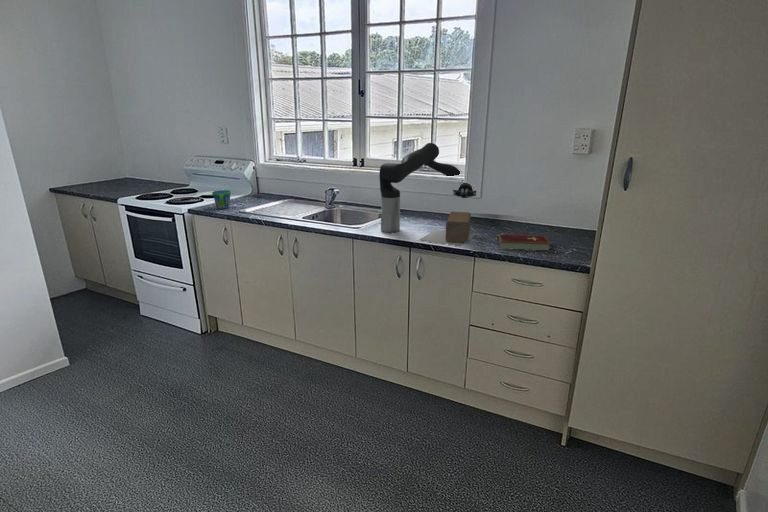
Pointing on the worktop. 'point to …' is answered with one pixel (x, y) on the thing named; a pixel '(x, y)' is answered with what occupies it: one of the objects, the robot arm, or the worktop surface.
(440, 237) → the grey mat
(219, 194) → the snack cup
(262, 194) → the worktop surface
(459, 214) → the wooden block
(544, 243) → the hardcover book
